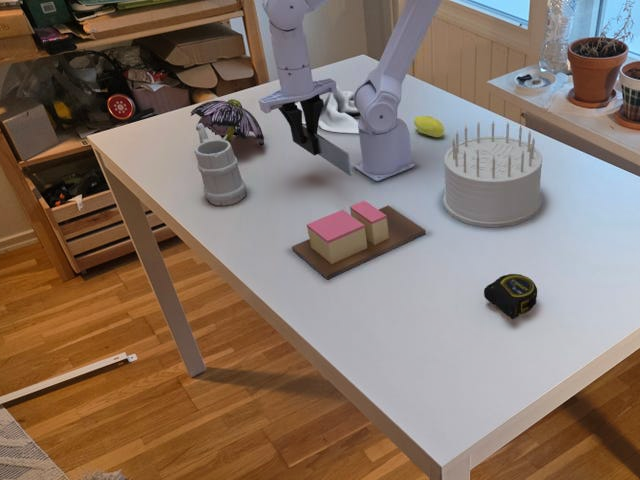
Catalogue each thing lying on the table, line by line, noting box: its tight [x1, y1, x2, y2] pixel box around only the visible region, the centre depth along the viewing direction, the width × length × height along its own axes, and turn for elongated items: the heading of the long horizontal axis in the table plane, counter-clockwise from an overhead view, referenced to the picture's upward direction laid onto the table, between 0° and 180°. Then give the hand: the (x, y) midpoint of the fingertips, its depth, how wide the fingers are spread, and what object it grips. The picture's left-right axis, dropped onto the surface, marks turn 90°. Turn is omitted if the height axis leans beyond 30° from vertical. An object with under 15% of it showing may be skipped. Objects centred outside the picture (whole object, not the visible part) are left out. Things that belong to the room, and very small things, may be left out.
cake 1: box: [306, 209, 367, 264], centre depth 107 cm, size 7×6×4 cm
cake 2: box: [442, 120, 543, 228], centre depth 115 cm, size 18×18×13 cm
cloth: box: [295, 85, 361, 135], centre depth 147 cm, size 22×19×6 cm
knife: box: [289, 124, 353, 177], centre depth 117 cm, size 2×19×4 cm, turn 39°
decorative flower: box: [190, 98, 265, 151], centre depth 134 cm, size 14×12×15 cm
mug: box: [194, 123, 247, 207], centre depth 120 cm, size 8×12×12 cm, turn 33°
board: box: [291, 205, 426, 280], centre depth 110 cm, size 20×11×1 cm, turn 130°
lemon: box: [413, 115, 445, 138], centre depth 139 cm, size 4×8×4 cm, turn 45°
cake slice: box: [349, 200, 389, 245], centre depth 109 cm, size 3×6×4 cm, turn 40°
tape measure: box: [483, 273, 538, 320], centre depth 96 cm, size 7×7×4 cm
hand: (306, 139), depth 121 cm, fingers closed on knife, 2 cm apart
